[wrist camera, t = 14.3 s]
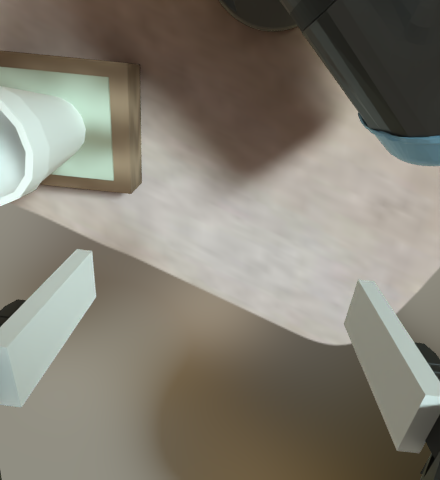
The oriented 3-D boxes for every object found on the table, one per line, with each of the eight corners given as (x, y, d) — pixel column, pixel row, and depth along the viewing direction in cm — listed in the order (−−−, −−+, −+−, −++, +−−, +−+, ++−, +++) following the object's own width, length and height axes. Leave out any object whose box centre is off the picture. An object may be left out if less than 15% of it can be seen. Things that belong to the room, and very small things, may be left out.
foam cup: (95, 84, 35) (21, 85, 23) (103, 171, 39) (43, 210, 27) (6, 77, 35) (-111, 75, 23) (23, 165, 39) (-70, 200, 27)
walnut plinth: (3, 51, 39) (-29, 47, 34) (139, 65, 38) (126, 62, 34) (23, 170, 45) (-2, 180, 40) (141, 183, 44) (130, 194, 40)
